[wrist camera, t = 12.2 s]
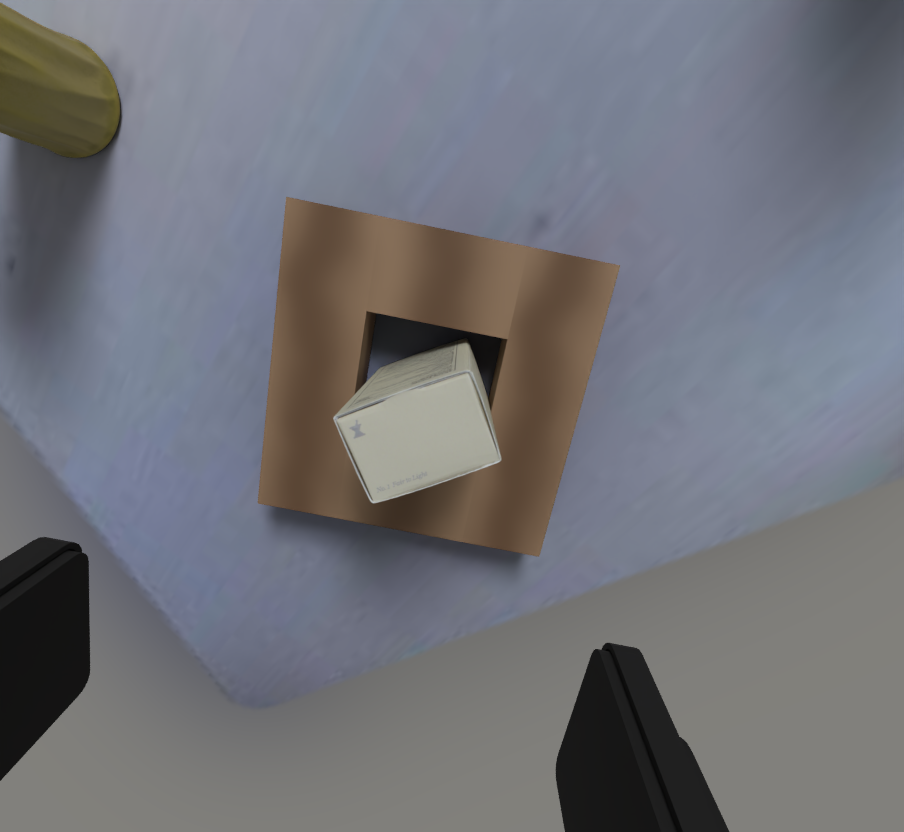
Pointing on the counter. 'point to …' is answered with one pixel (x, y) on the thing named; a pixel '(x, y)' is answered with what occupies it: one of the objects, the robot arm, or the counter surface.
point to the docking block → (440, 303)
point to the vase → (54, 89)
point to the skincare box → (419, 423)
